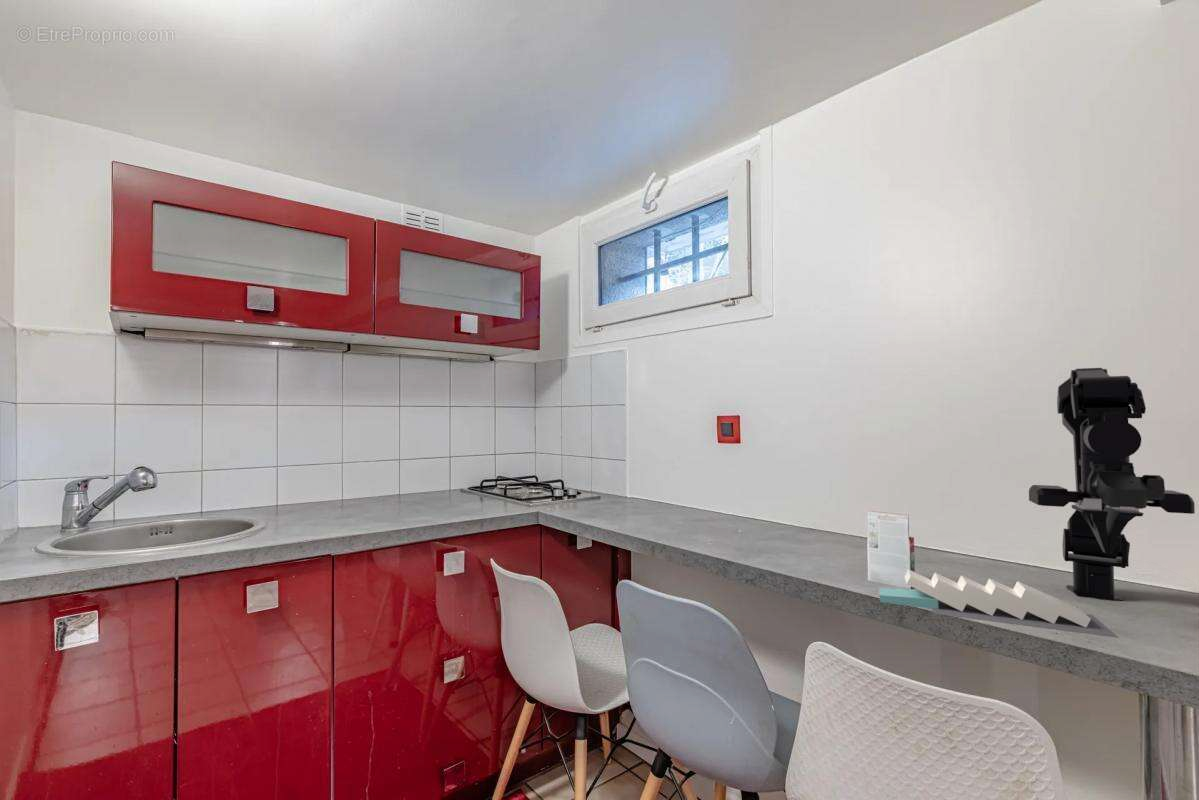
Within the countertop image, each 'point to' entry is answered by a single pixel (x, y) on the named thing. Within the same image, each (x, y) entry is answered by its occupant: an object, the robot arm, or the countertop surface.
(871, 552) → the ink box
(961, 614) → the runner mat
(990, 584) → the domino
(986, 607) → the domino
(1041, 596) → the domino
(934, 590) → the domino
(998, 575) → the countertop surface
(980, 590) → the domino
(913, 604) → the domino
